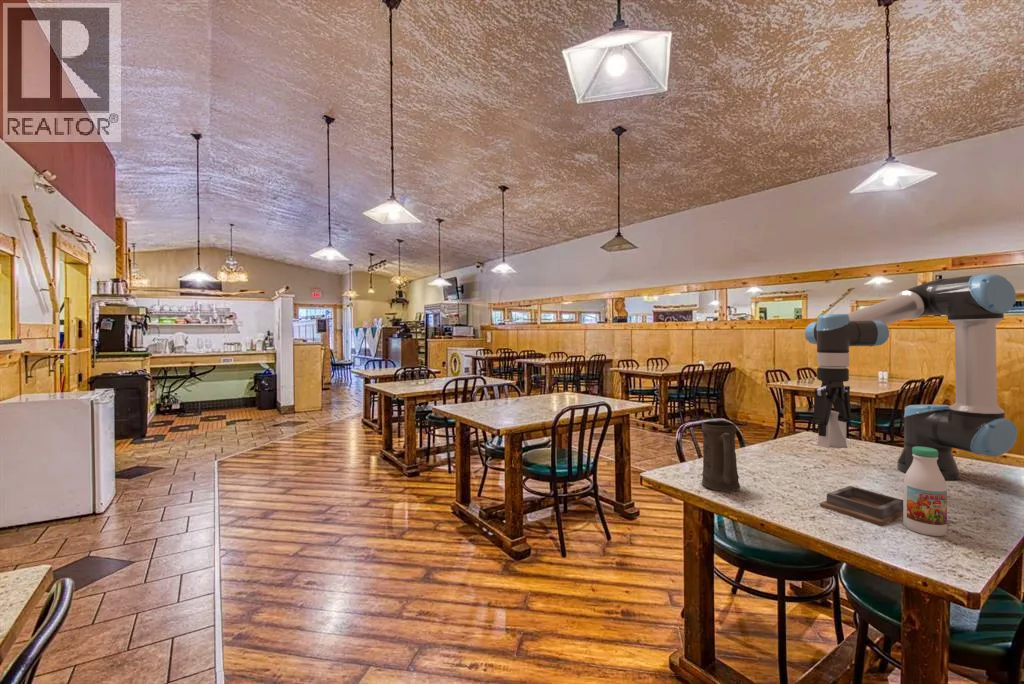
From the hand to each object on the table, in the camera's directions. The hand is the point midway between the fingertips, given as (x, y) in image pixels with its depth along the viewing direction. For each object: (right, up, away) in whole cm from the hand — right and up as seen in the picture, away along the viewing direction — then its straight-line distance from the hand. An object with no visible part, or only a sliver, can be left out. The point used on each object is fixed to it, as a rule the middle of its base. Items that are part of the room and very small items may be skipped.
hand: (832, 445), depth 127 cm
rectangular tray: (+2, -15, -9) cm, 18 cm away
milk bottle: (+7, -16, -21) cm, 27 cm away
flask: (0, 0, 0) cm, 0 cm away
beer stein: (-28, -16, +8) cm, 33 cm away
